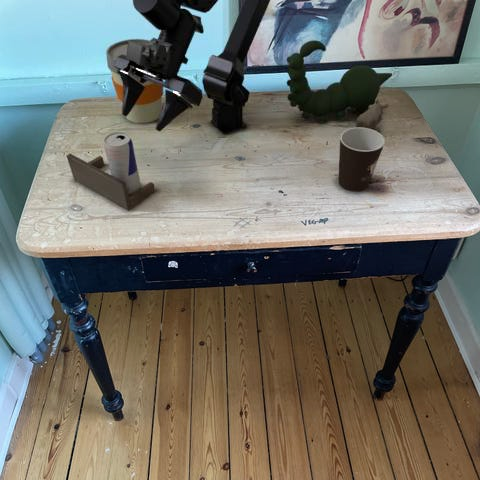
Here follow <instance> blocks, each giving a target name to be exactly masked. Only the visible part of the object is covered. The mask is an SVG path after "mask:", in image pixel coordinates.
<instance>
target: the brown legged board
mask: <svg viewBox="0 0 480 480" xmlns="http://www.w3.org/2000/svg"><path fill="white" fill-rule="evenodd" d="M66 159H67V162H68V165H69V168H70V173H71V174H72V178H73V180H74V181H75V182H77V183H78V184H80V185H82V186H84V187H85V188H87V189H89V190H91V191H92V192H95V194H98V195H100V196H102V197H103V198H105V199H106V200H108V201H110V202H112V203H114V204H116V205H118V206H119V207H121V208H123V209H125V210H127V211H129V210H132V208H134V207H135V206H137V205H138V204H140V203H141V202H143V201H144V200H145V199H147V198H148V197H150V196H151V195H153V194H154V193H155V192H156V187H155V183H154V182H151V181H150V182H149V183H147V184H145V185H144V186H141V189H140V190H138V191H137V192H135V193H134V194H132V195H131V196H129V194H128V190H127V185H126V183H125V182H123V181H121V180H119V179H117V178H116V177H114V176H112V175H111V173H108V172H106V171H105V170H102V169H101V168H103V167H104V166H105V161H104V156H101V155H98V156H97V157H94V158H93V159H92V160H89V161H88V162H87V161H86V160H84V159H82V158H80V157H78V156H76V155H74V154H73V153H68V154H66Z"/></svg>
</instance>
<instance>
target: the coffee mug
mask: <svg viewBox="0 0 480 480" xmlns="http://www.w3.org/2000/svg"><path fill="white" fill-rule="evenodd" d="M385 142H386V140H385V137H384V136H383V134H382V133H380V131H379V130H377V129H376V131H375V130H372V129H369V128H361V127H358V128H356V127H351V128H347V129H345V130H344V131H342V132H341V134H340V135H339V157H338V158H339V159H338V181H337V183H338V185H339V186H340V188H342V189H343V190H346V191H348V192H353V193H354V192H355V193H357V192H362V191H365V190H366V189H368V187H369V185H370V183H371V180H372V177H373V175H374V172H375V170H376V167H377V164H378V161H379V159H380V157H381V153H382V151H383V148H384V145H385V144H386V143H385Z"/></svg>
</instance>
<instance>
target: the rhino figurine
mask: <svg viewBox="0 0 480 480" xmlns="http://www.w3.org/2000/svg"><path fill="white" fill-rule="evenodd" d="M388 107H389V103H385V104H382V103H380V100H379V99H376V100H375V103H374V104H373V105H371V107H370V106H369V109H368V110H367V111H366V112H364V113H363V114H361V115H360V114H359V116H358V117H357V119H356V121H355V128H358V127H361V128H369V129H372V130H375V131H376V130H377V129H376V128H377V126H378V125H379V123H380V122H381V121H382V118H383V114H384V109H385V108H388Z"/></svg>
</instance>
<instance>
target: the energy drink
mask: <svg viewBox="0 0 480 480" xmlns="http://www.w3.org/2000/svg"><path fill="white" fill-rule="evenodd" d="M103 148H104V152H105V155H106V160H107V163H108V168H109V170H110V175H112V176H114V177H116V178H117V179H119V180H121V181H123V182H125V183H126V185H127V190H128V194H129V196H131V195H132V194H134V193H135V192H137V191H138V190H140V189H141V188H142V185H141V179H140V175H139V170H138V163H137V159H136V154H135V150H134V149H135V148H134V144H133V140H132V138H131V136H130V134H129V133H126V132H122V131H115V132H111V133H109V134H107V135H106V136H105V137H104V138H103Z"/></svg>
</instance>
